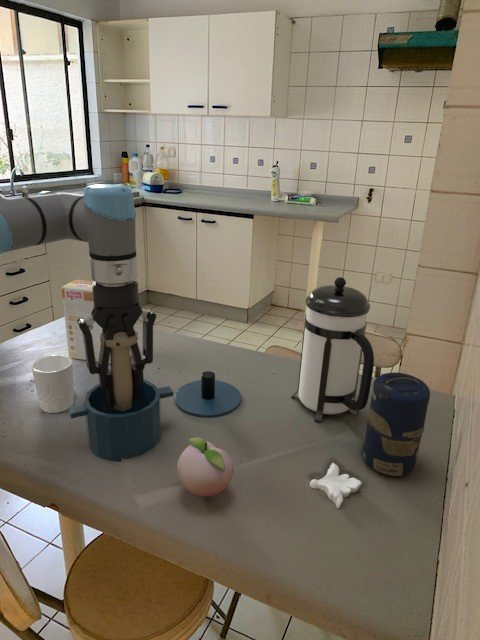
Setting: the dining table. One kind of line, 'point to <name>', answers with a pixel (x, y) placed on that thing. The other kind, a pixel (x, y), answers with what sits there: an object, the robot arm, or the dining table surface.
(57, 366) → the white cup
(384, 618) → the dining table surface
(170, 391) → the pot
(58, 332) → the dining table surface
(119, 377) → the handle
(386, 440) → the canister
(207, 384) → the lid
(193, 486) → the decorative fruit
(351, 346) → the coffee press
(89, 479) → the dining table surface
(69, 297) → the coffeecake box
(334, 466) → the acanthus leaf ornament
